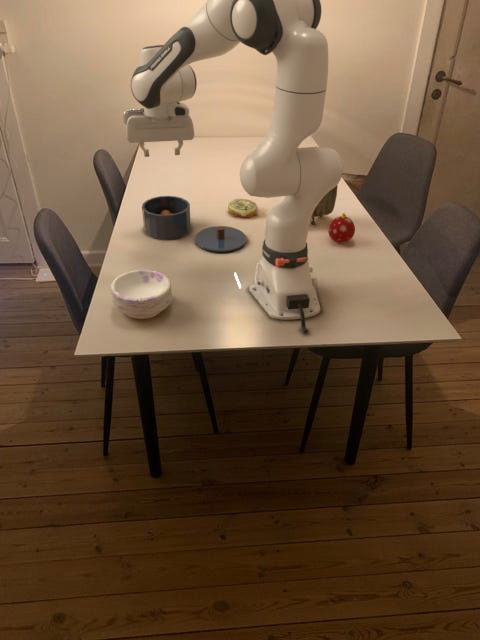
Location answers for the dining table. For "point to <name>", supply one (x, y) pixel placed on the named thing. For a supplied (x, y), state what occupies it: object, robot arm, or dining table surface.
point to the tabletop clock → (325, 205)
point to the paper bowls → (141, 293)
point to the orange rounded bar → (165, 212)
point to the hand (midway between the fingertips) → (162, 155)
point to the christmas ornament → (341, 229)
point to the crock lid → (220, 238)
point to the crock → (166, 217)
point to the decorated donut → (242, 208)
